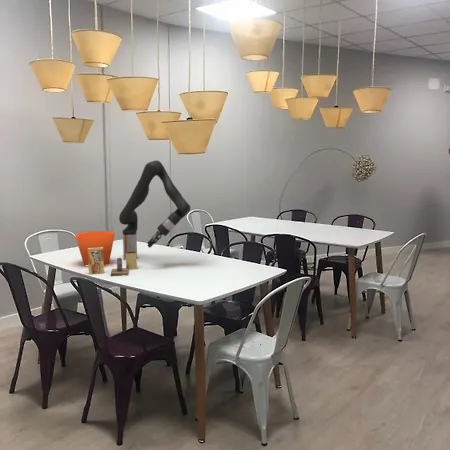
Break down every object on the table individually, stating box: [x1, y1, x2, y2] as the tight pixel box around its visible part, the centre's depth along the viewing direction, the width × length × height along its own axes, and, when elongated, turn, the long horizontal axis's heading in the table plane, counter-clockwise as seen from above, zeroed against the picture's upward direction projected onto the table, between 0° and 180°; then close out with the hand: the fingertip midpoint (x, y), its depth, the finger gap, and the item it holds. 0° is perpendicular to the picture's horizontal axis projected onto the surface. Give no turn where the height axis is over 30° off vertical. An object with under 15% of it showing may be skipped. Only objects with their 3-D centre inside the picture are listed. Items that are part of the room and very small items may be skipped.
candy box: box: [88, 247, 105, 275], centre depth 292 cm, size 9×4×15 cm, turn 104°
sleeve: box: [125, 251, 138, 270], centre depth 305 cm, size 6×6×10 cm
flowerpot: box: [74, 230, 116, 266], centre depth 317 cm, size 25×25×20 cm
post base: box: [110, 257, 130, 277], centre depth 292 cm, size 12×10×10 cm
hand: (148, 245), depth 305 cm, fingers open, 8 cm apart
